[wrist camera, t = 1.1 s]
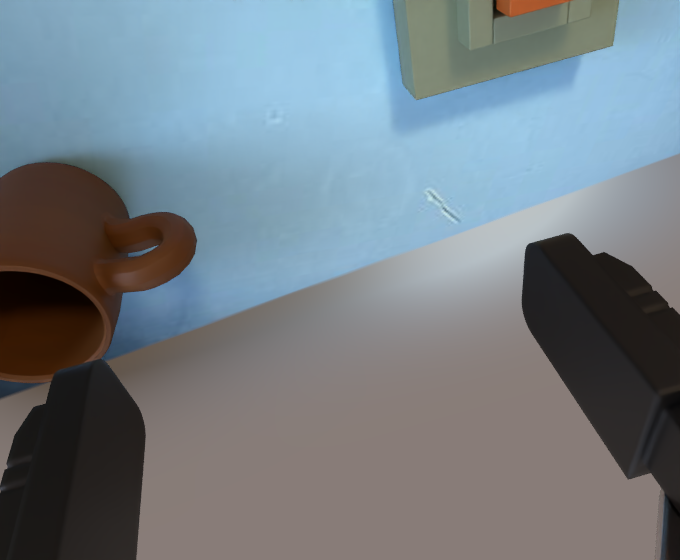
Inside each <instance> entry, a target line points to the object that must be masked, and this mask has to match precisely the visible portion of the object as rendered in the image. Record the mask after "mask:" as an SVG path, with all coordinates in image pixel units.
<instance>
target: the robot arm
mask: <svg viewBox="0 0 680 560" xmlns="http://www.w3.org/2000/svg"><path fill="white" fill-rule="evenodd" d="M522 309H523V314H524V317H525V320H526V323H527V325H528V328H529V330H530V331H531V333H532V335H533V336H534V338H535V339H536V341H537V342H538V344H539V345H540V347H541V348H542V350H543V351H544V353H545V354H546V356H547V357H548V359H549V360H550V362H551V363H552V365H553V367H554V368H555V370H556V371H557V372H558V374H559V376H560V377H561V379H562V380H563V382H564V383H565V385H566V386H567V388H568V389H569V391H570V392H571V394H572V395H573V397H574V398H575V400H576V401H577V403H578V404H579V406H580V407H581V409H582V410H583V412H584V413H585V415H586V416H587V418H588V420H589V421H590V423H591V424H592V426H593V427H594V429H595V430H596V432H597V433H598V434H599V436H600V438H601V439H602V441H603V442H604V444H605V445H606V446H607V448H608V450H609V451H610V453H611V454H612V456H613V457H614V459H615V460H616V462H617V463H618V465H619V467H620V468H621V470H622V471H623V472H624V474H625V476H626V477H627V478H628V479H632V478H635V477H638V476H642V475H645V474H648V473H652V475H653V476H654V478H655V479H656V481H657V482H658V484H659V485H660V486H661V490H660V495H659V505H658V520H657V536H656V550H655V560H680V315H679V314H678V313H677V312H676V311H675V309H673V308H670V307H669V306H668V302H667V301H665V299H664V298H663V297H662V296H661V295H660V294H659V293H658V292H657V291H653V290H652V286H651V285H650V284H649V283H648V282H647V281H646V280H645V279H644V278H643V277H642V276H641V275H640V274H639V273H638V272H637V271H636V270H635V269H634V268H633V267H632V266H630V265H628V264H626V263H624V262H622V261H620V260H619V259H616V258H615V257H613V256H611V255H609V254H607V253H605V252H603V253H600V254H596V255H592V254H591V253H590V252H589V251H588V250H587V249H586V247H585V246H584V245H583V244H582V243H581V242H580V241H579V240H578V239H577V238H576V237H575V236H574V235H572V234H569V233H566V234H562V235H559V236H555V237H552V238H548V239H544V240H540V241H537V242H534V243H530V244H528V245H527V247H526V251H525V261H524V275H523V290H522ZM144 451H145V425H144V421H143V417H142V414H141V412H140V410H139V407H138V406H137V404H136V403H135V401H134V400H133V399H132V397H131V396H130V395H129V393H128V392H127V390H126V389H125V388H124V386H123V385H122V383H121V382H120V380H119V379H118V378H117V376H116V375H115V373H114V372H113V371H112V369H111V368H110V367H109V365H108V364H107V363H106V362H105V361H104V360H102V359H97V360H93V361H90V362H86V363H82V364H79V365H75V366H71V367H68V368H64V369H60V370H58V371H56V372H55V373H54V375H53V378H52V381H51V385H50V389H49V393H48V397H47V401H46V404H43V405H39V406H35V407H33V409H32V410H31V412H30V413H29V415H28V416H27V418H26V419H25V421H24V422H23V424H22V425H21V427H20V428H19V430H18V431H17V432H16V434H15V436H14V439H13V443H12V446H11V450H10V453H9V457H8V460H7V466H8V468H7V469H6V470H5V471H4V474H3V477H2V481H1V485H0V490H1V493H0V560H136V555H137V541H138V528H139V515H140V503H141V490H142V477H143V463H144Z"/></svg>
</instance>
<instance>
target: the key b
mask: <svg viewBox="0 0 680 560" xmlns="http://www.w3.org/2000/svg"><path fill="white" fill-rule="evenodd" d="M569 1H573V0H496V9H497V10H499V11H500V12H502V13H504V14H505V15H507V16H509V17H514V16H518V15H522V14H525V13H529V12H533V11H536V10H540V9H544V8H547V7H551V6H554V5H558V4H562V3H565V2H569Z"/></svg>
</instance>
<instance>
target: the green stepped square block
mask: <svg viewBox="0 0 680 560" xmlns="http://www.w3.org/2000/svg"><path fill="white" fill-rule="evenodd" d="M618 5H619V0H573V1H569V2H565V3H562V4H558V5H554V6H551V7H547V8H544V9H540V10H536V11H533V12H529V13H525V14H522V15H518V16H514V17H509V16H507V15H505V14H504V13H502V12H500V11H499V10H497V9H496V0H393V6H394V14H395V22H396V31H397V39H398V48H399V56H400V64H401V73H402V81H403V85H404V86H405V88H406V89H407V90H408V91H409V93H410V94H411V95H412V96H413V97H414V99H415V100H419V99H423V98H426V97H430V96H433V95H437V94H441V93H444V92H448V91H451V90H455V89H459V88H462V87H466V86H469V85H473V84H477V83H480V82H484V81H488V80H491V79H495V78H498V77H502V76H506V75H509V74H513V73H516V72H520V71H524V70H527V69H531V68H535V67H538V66H542V65H545V64H549V63H553V62H556V61H560V60H563V59H567V58H571V57H574V56H578V55H582V54H585V53H589V52H592V51H596V50H600V49H603V48H607V47H610V46H613V42H614V34H615V27H616V20H617V12H618Z"/></svg>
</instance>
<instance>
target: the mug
mask: <svg viewBox="0 0 680 560" xmlns="http://www.w3.org/2000/svg"><path fill="white" fill-rule="evenodd" d="M196 243H197V239H196V235H195V232H194V229H193V227H192V226H191V225H190V224H189V222H188V221H187V220H186V219H185V218H183V217H181V216H179V215H176V214H174V213H169V212H156V213H150V214H145V215H141V216H138V217H135V218H132V219H129V215H128V211H127V209H126V207H125V205H124V203H123V201H122V199H121V198H120V197H119V195H118V194H117V193H116V192H115V191H114V190H113V189H112V188H111V187H110V186H109V185H108V184H107V183H106V182H104V181H103V180H102V179H100V178H98V177H97V176H95V175H94V174H92V173H90V172H88V171H86V170H83V169H80V168H78V167H74V166H71V165H67V164H60V163H49V162H44V163H34V164H28V165H24V166H21V167H18V168H16V169H14V170H12V171H10V172H8V173H7V174H5V175H4V176H3V177H1V178H0V379H1V380H6V381H12V382H21V383H44V382H51V381H52V378H53V375H54V373H55V372H56V371H58V370H60V369H64V368H68V367H71V366H75V365H79V364H82V363H86V362H90V361H93V360H97V359H101V358H102V357H103V356H104V354H105V353H106V351H107V350H108V348H109V346H110V344H111V341H112V337H113V334H114V330H115V327H116V323H117V320H118V316H119V312H120V307H121V301H122V294H123V293H125V292H135V291H145V290H149V289H152V288H155V287H157V286H160V285H162V284H164V283H166V282H168V281H170V280H171V279H173V278H174V277H176V276H177V275H179V274H180V273H181V272H182V271H183V270H184V269H185V268H186V267H187V266H188V265H189V264H190V262H191V260H192V258H193V256H194V255H195V250H196ZM157 245H159V246H157ZM154 246H157V247H156V248H154V249H153V250H151V251H150V252H147V253H145V254H143V255H141V256H135V257H128V253H133V252H138V251H142V250H145V249H148V248H151V247H154Z"/></svg>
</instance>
